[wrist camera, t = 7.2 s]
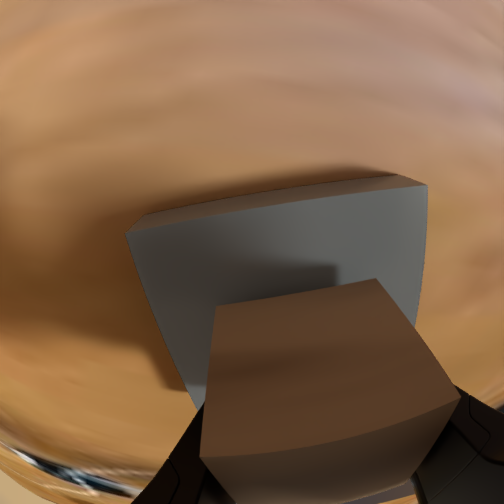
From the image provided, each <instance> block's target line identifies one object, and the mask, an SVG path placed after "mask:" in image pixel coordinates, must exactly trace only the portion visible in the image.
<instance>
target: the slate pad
mask: <svg viewBox="0 0 504 504" xmlns="http://www.w3.org/2000/svg"><path fill="white" fill-rule="evenodd" d="M427 205H428V185H426V184H424V183H421V182H418V181H416V180H413V179H411V178H408V177H405V176H402V175H391V176H381V177H371V178H362V179H353V180H345V181H337V182H329V183H321V184H314V185H306V186H299V187H293V188H286V189H279V190H273V191H267V192H261V193H255V194H249V195H243V196H237V197H231V198H226V199H220V200H215V201H210V202H204V203H199V204H194V205H189V206H184V207H179V208H174V209H170V210H165V211H160V212H156V213H151V214H147V215H143V216H142V217H141V218H140V219H139V220H138V221H137V222H136V223H135V224H134V225H133V226H132V227H131V228H130V229H129V230H128V231H127V232H126V233H125V236H126V239H127V242H128V245H129V248H130V251H131V254H132V257H133V260H134V263H135V266H136V269H137V272H138V275H139V278H140V280H141V283H142V286H143V289H144V291H145V294H146V297H147V299H148V302H149V305H150V307H151V310H152V312H153V315H154V317H155V320H156V322H157V325H158V327H159V329H160V332H161V334H162V336H163V339H164V341H165V343H166V346H167V348H168V350H169V353H170V355H171V357H172V359H173V361H174V364H175V366H176V368H177V370H178V372H179V374H180V376H181V378H182V381H183V383H184V385H185V387H186V389H187V391H188V393H189V395H190V397H191V399H192V401H193V403H194V405H195V406H196V408H197V410H198V411H199V409H200V408H201V406H202V404H203V403H204V401H205V394H206V385H207V376H208V367H209V358H210V350H211V341H212V333H213V325H214V317H215V309H216V306H219V305H226V304H233V303H240V302H246V301H253V300H259V299H265V298H271V297H277V296H283V295H289V294H295V293H301V292H306V291H312V290H317V289H323V288H328V287H333V286H339V285H344V284H349V283H354V282H359V281H364V280H369V279H373V278H376V279H377V280H378V281H379V282H380V284H381V285H382V286H383V287H384V289H385V290H386V291H387V292H388V294H389V295H390V296H391V298H392V299H393V300H394V301H395V303H396V304H397V305H398V307H399V308H400V309H401V311H402V312H403V313H404V315H405V316H406V317H407V319H408V320H409V321H410V323H411V324H412V325H413V327H414V328H415V322H416V317H417V311H418V305H419V299H420V292H421V285H422V277H423V268H424V258H425V246H426V231H427Z"/></svg>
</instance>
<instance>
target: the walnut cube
mask: <svg viewBox="0 0 504 504" xmlns="http://www.w3.org/2000/svg"><path fill="white" fill-rule="evenodd" d="M460 398H461V396H460V394H459V393H458V391H457V389H456V388H455V386H454V385H453V383H452V382H451V380H450V379H449V377H448V375H447V374H446V372H445V371H444V369H443V368H442V366H441V365H440V364H439V362H438V361H437V359H436V358H435V356H434V355H433V353H432V352H431V350H430V349H429V348H428V346H427V345H426V343H425V342H424V341H423V339H422V338H421V336H420V335H419V334H418V332H417V331H416V329H415V328H414V327H413V325H412V324H411V323H410V321H409V320H408V319H407V317H406V316H405V315H404V313H403V312H402V311H401V309H400V308H399V307H398V305H397V304H396V303H395V301H394V300H393V299H392V298H391V296H390V295H389V294H388V292H387V291H386V290H385V289H384V287H383V286H382V285H381V284H380V282H379V281H378V280H377V279H376V278H373V279H369V280H364V281H359V282H354V283H349V284H344V285H339V286H333V287H328V288H323V289H317V290H312V291H306V292H301V293H295V294H289V295H283V296H277V297H271V298H265V299H259V300H253V301H246V302H240V303H233V304H226V305H219V306H216V309H215V317H214V325H213V333H212V341H211V350H210V358H209V367H208V376H207V385H206V394H205V404H204V414H203V424H202V434H201V445H200V458H201V460H202V461H203V462H204V464H205V465H206V466H207V468H208V469H209V470H210V472H211V473H212V474H213V475H214V477H215V478H216V479H217V480H218V482H219V483H220V484H221V485H222V487H223V488H224V489H225V490H226V491H227V493H228V494H229V495H230V496H231V497H232V499H233V500H234V501H235V502H236V503H237V504H341V503H345V502H349V501H353V500H357V499H360V498H364V497H367V496H370V495H374V494H377V493H380V492H383V491H386V490H389V489H392V488H395V487H398V486H400V485H403V484H405V483H406V482H407V481H408V479H409V478H410V477H411V476H412V474H413V473H414V472H415V470H416V469H417V468H418V466H419V465H420V464H421V462H422V461H423V459H424V458H425V456H426V455H427V454H428V452H429V451H430V449H431V448H432V446H433V445H434V443H435V442H436V440H437V438H438V437H439V435H440V434H441V432H442V430H443V429H444V427H445V425H446V424H447V422H448V420H449V419H450V417H451V415H452V413H453V412H454V410H455V408H456V406H457V404H458V402H459V400H460Z"/></svg>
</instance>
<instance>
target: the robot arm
mask: <svg viewBox="0 0 504 504" xmlns="http://www.w3.org/2000/svg"><path fill="white" fill-rule="evenodd" d="M453 385H454V384H453ZM454 386H455V385H454ZM455 388H456V389H457V391H458V393H459V394H460V396H461V398H460V400H459V402H458V404H457V406H456V408H455V410H454V412H453V413H452V415H451V417H450V419H449V420H448V422H447V424H446V425H445V427H444V429H443V430H442V432H441V434H440V435H439V437H438V438H437V440H436V442H435V443H434V445H433V446H432V448H431V449H430V451H429V452H428V454H427V455H426V456H425V458H424V459H423V461H422V462H421V464H420V465H419V466H418V468H417V469H416V470H415V472H414V473H413V474H412V476H411V477H410V480H411V483H412V485H413V488H414V491H415V494H416V497H417V500H418V503H419V504H504V413H501V412H499V411H497V410H495V409H494V408H492V407H490V406H488V405H486V404H484V403H483V402H481V401H479V400H478V399H476V398H474V397H473V396H471V395H469V394H468V393H466V392H465V391H463V390H462V389H460V388H459V387H457V386H455ZM204 404H205V401H204V403H203V404H202V406H201V408H200V409H199V411H198V412H197V414H196V415H195V417H194V418H193V420H192V422H191V423H190V425H189V426H188V428H187V429H186V431H185V432H184V434H183V436H182V437H181V439H180V440H179V442H178V443H177V445H176V446H175V448H174V449H173V451H172V452H171V454H170V455H169V459H167V460H166V461H165V463H164V464H163V466H162V467H161V468H160V470H159V471H158V473H157V474H156V475H155V477H154V478H153V479H152V480H151V482H150V483H149V484H148V485H147V486H146V487H145V489H144V490H143V491H142V492H141V493H140V494H139V495H138V496H137V497H136V498H135V499H134V501H133V502H132V503H131V504H236V502H235V501H234V500H233V499H232V497H231V496H230V495H229V494H228V493H227V491H226V490H225V489H224V488H223V487H222V485H221V484H220V483H219V482H218V480H217V479H216V478H215V477H214V475H213V474H212V473H211V472H210V470H209V469H208V468H207V466H206V465H205V464H204V462H203V461H202V460H201V458H200V445H201V434H202V424H203V414H204Z"/></svg>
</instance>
